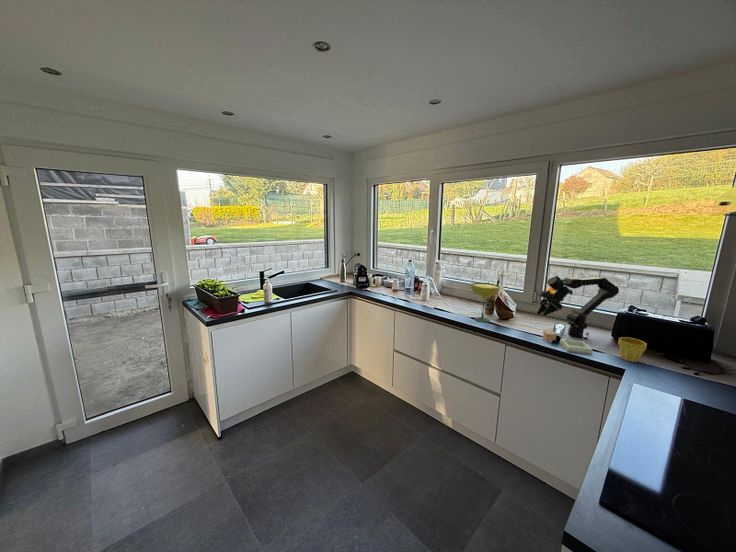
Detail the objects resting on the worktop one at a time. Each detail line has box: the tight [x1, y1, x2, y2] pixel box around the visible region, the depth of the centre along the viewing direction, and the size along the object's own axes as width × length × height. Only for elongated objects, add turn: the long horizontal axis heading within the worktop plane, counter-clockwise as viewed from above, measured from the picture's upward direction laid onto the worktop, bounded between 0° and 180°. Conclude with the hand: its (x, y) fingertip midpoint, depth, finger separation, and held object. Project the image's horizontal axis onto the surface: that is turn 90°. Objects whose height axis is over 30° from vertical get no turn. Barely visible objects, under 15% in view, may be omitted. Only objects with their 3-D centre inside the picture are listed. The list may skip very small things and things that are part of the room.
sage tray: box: [559, 338, 593, 356], centre depth 156 cm, size 11×11×3 cm
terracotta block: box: [542, 330, 557, 342], centre depth 167 cm, size 5×5×5 cm
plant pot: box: [617, 336, 648, 363], centre depth 144 cm, size 10×10×10 cm
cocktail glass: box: [470, 282, 501, 324], centre depth 199 cm, size 18×18×25 cm
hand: (540, 314), depth 170 cm, fingers open, 9 cm apart
